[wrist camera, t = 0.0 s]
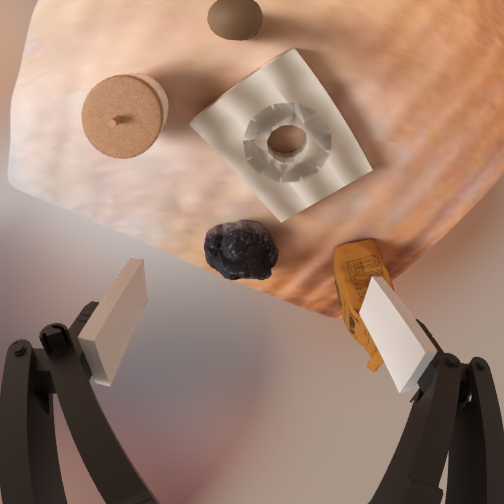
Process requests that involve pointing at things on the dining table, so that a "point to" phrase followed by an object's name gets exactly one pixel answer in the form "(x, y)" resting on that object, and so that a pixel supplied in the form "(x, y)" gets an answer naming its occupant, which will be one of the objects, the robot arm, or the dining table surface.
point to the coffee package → (358, 289)
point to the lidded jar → (125, 114)
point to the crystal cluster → (240, 250)
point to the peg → (235, 19)
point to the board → (270, 118)
